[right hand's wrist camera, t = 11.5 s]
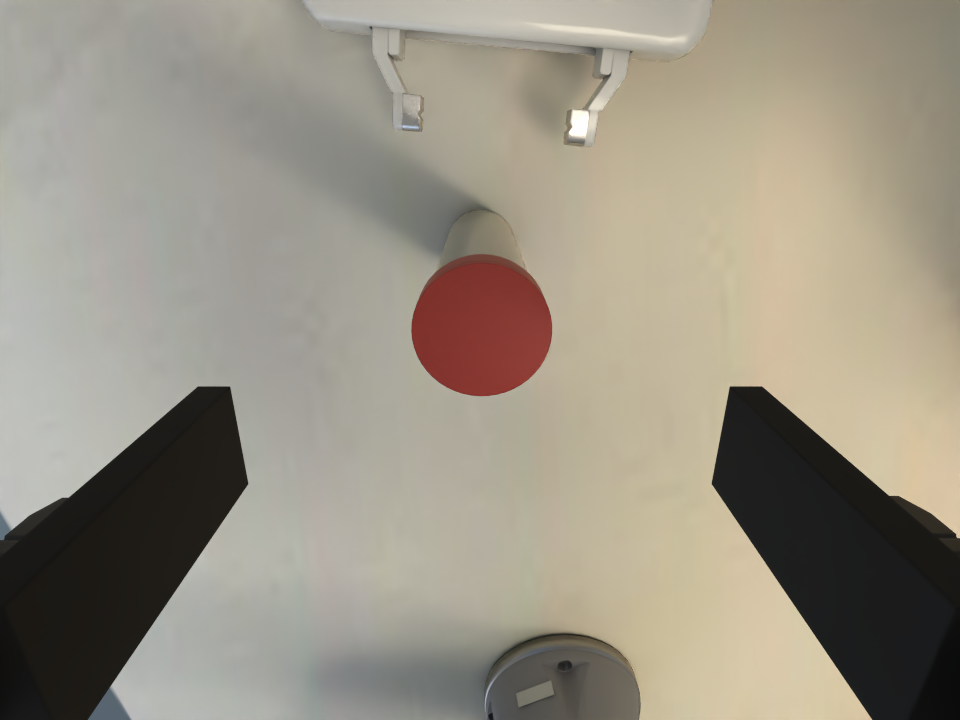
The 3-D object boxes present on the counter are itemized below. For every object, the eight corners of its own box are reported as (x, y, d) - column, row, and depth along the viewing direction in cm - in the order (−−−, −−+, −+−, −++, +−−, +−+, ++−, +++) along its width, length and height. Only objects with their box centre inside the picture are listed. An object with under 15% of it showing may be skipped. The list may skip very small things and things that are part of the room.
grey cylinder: (523, 263, 39) (560, 362, 21) (462, 287, 40) (447, 401, 22) (500, 199, 37) (519, 248, 20) (436, 224, 38) (399, 294, 20)
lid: (563, 354, 23) (570, 370, 21) (446, 395, 23) (443, 413, 22) (521, 233, 21) (524, 241, 19) (395, 282, 21) (388, 293, 20)
